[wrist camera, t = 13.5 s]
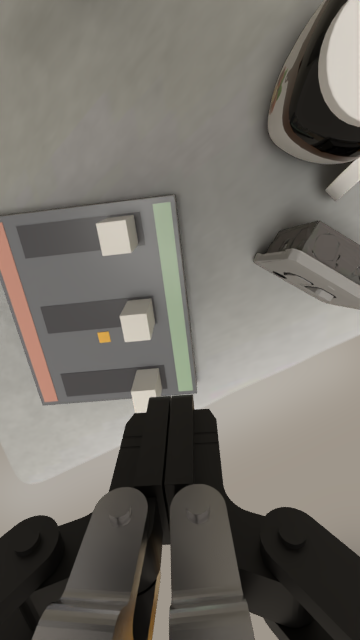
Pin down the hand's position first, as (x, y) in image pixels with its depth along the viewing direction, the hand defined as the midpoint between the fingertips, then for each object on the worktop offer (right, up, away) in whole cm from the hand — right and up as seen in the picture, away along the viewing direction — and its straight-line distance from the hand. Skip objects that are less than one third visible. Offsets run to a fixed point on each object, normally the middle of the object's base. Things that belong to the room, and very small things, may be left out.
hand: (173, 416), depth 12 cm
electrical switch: (+13, +10, +22) cm, 27 cm away
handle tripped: (-4, +4, +22) cm, 23 cm away
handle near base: (-5, +12, +19) cm, 23 cm away
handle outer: (-3, -3, +25) cm, 25 cm away
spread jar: (+13, +21, +17) cm, 30 cm away
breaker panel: (-8, +5, +25) cm, 26 cm away
